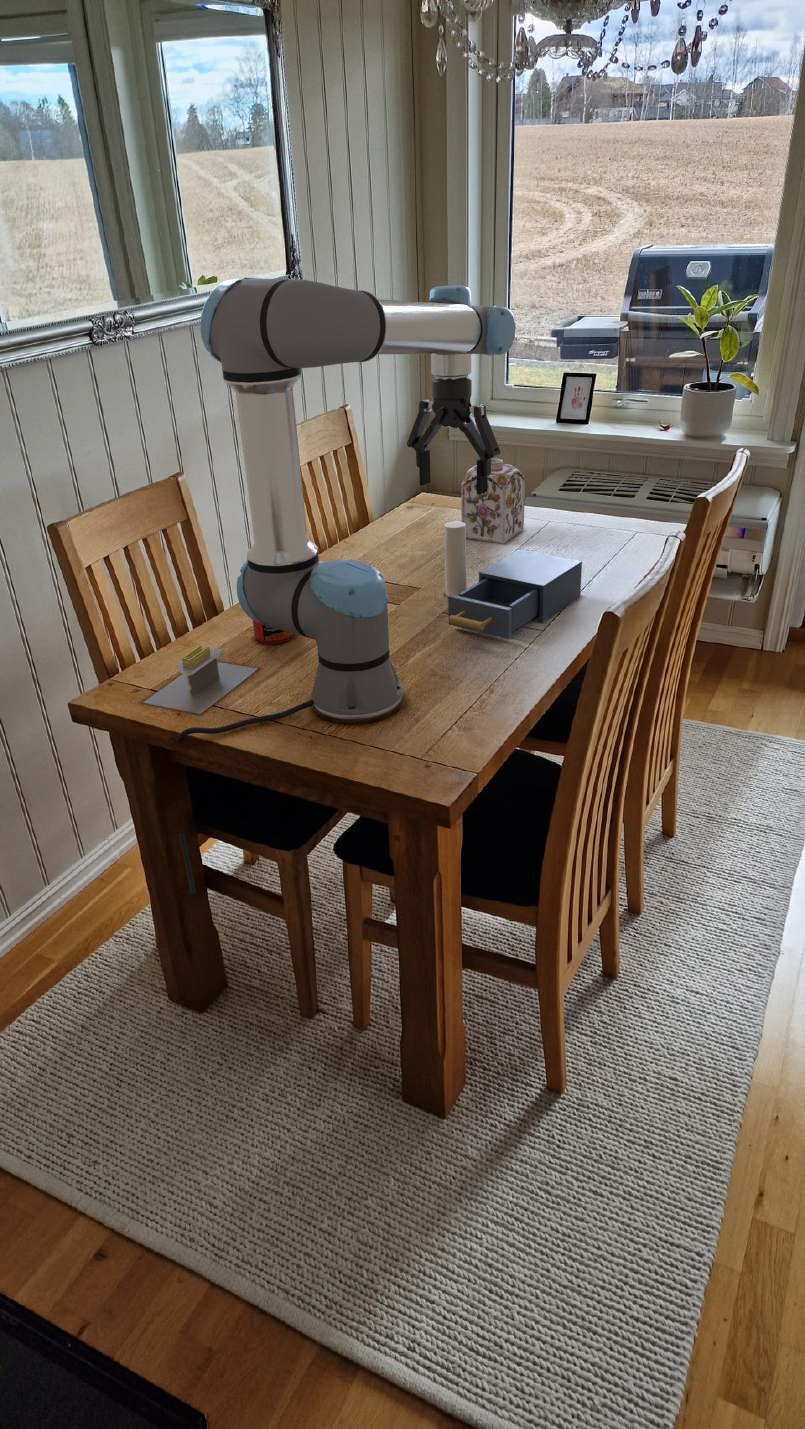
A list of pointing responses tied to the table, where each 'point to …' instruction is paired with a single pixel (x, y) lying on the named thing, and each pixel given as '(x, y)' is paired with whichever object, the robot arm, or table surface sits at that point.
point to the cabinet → (540, 578)
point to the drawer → (494, 607)
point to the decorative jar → (494, 504)
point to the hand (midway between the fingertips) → (453, 488)
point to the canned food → (270, 634)
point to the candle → (455, 557)
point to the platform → (200, 682)
